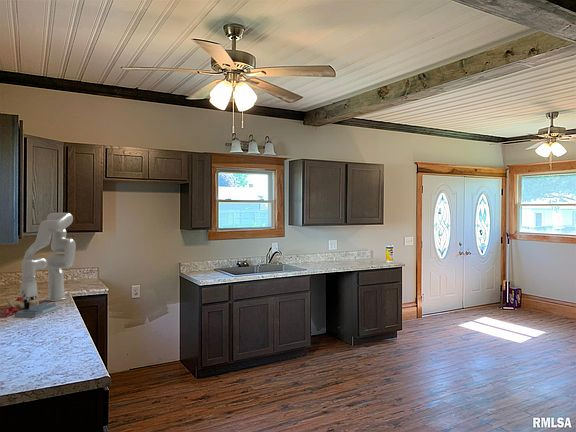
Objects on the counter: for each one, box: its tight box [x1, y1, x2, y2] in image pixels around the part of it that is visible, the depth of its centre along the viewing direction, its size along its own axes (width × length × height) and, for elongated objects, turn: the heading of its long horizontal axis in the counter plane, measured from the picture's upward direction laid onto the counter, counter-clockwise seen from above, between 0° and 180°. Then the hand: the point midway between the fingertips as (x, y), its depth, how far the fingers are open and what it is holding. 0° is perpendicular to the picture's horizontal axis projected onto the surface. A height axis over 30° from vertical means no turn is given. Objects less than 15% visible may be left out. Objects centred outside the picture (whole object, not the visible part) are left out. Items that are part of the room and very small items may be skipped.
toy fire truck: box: [0, 296, 24, 318], centre depth 260 cm, size 3×14×10 cm, turn 168°
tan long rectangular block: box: [19, 298, 40, 309], centre depth 275 cm, size 4×10×4 cm, turn 81°
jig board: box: [14, 301, 63, 318], centre depth 266 cm, size 23×14×4 cm, turn 171°
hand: (29, 307), depth 275 cm, fingers closed on tan long rectangular block, 4 cm apart
